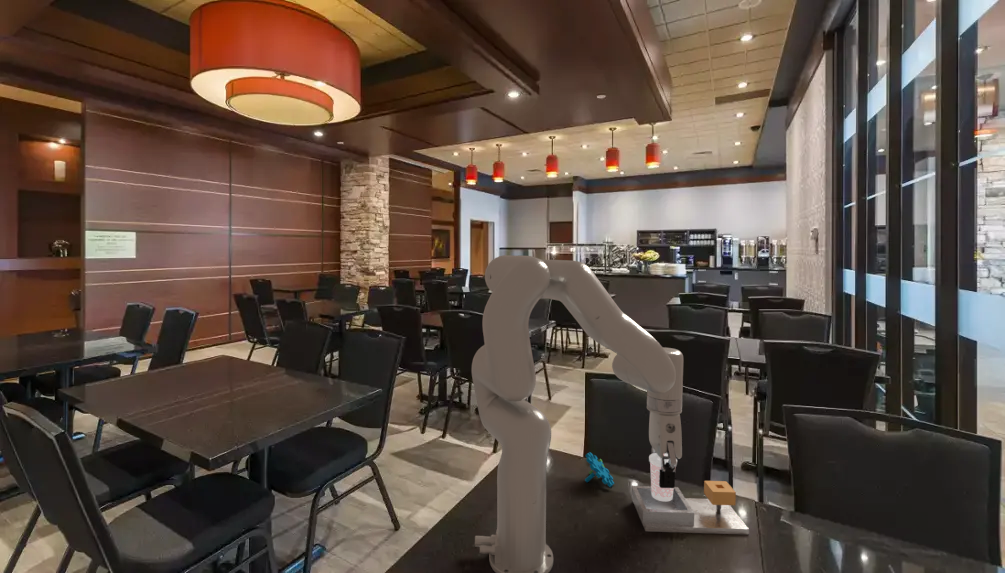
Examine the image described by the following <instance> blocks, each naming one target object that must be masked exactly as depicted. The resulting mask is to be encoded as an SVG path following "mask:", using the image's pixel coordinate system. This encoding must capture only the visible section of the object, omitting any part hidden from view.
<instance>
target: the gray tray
mask: <svg viewBox="0 0 1005 573" xmlns="http://www.w3.org/2000/svg"><path fill="white" fill-rule="evenodd" d="M630 496H631V500H632V504H634V507H635V509H636V512H637V515H638V517H639V519H640V522H641V524H642V526H643V528H644V531H645V532H655V533H656V532H660V533H661V532H662V533H689V534H691V533H692V534H716V535H717V534H721V535H723V534H724V535H726V534H728V535H749V534H750V529H749V527H748V526H747V525H746V523H745V522H744V521H743V520H742V518H741V517H740V516H739V515H738V513H737V512H736V511H735V509H734V508H733V507H732V505H712V503H711V502H710V501H709V499H708V498H693V497H689V498H688V497H687V498H686V497H685V496H684V494H683V493H682V491H681V490H680V488H679V487H678V486H675V487H674V489H673V498H672V500H671V501H667V502H665V501H659V500H656V499H654V498H653V497H652V493H651V485H650V486H649V485H647V486H645V485H632V486H631V495H630Z"/></svg>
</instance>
